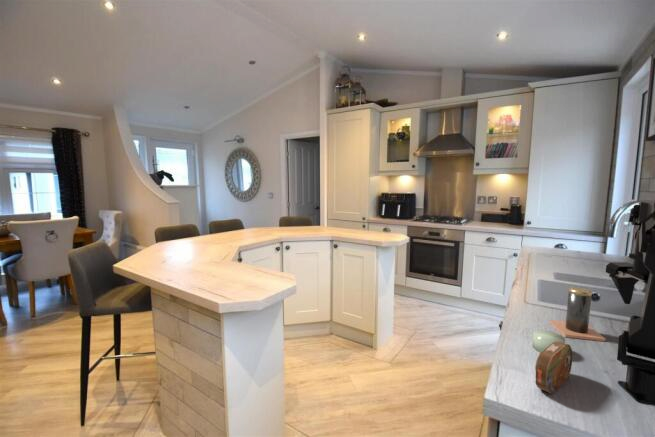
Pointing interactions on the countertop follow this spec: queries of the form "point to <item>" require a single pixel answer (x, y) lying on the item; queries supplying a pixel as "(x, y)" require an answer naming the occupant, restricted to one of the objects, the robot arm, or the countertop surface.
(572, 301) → the canister
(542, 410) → the countertop surface
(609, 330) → the countertop surface
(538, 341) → the pale green rounded piece
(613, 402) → the countertop surface
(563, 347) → the tin
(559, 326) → the plate
